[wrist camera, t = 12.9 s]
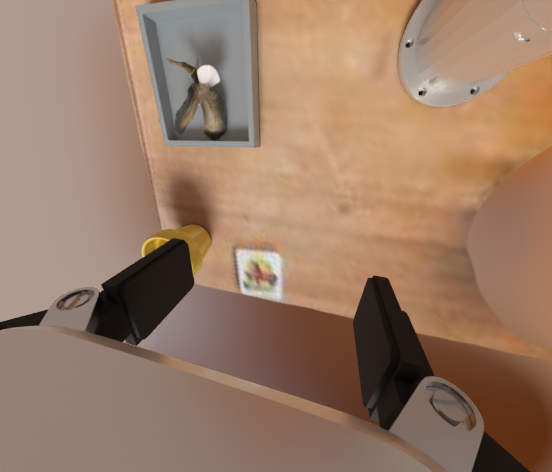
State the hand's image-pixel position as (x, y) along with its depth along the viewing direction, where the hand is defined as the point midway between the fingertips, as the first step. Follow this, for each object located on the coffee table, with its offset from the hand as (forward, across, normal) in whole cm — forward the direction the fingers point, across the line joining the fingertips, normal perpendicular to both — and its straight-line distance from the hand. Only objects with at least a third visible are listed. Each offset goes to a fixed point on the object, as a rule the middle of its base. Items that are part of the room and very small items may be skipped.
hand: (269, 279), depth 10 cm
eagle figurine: (+26, +17, -10) cm, 32 cm away
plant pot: (+26, +23, +15) cm, 38 cm away
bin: (+26, +17, -12) cm, 34 cm away
